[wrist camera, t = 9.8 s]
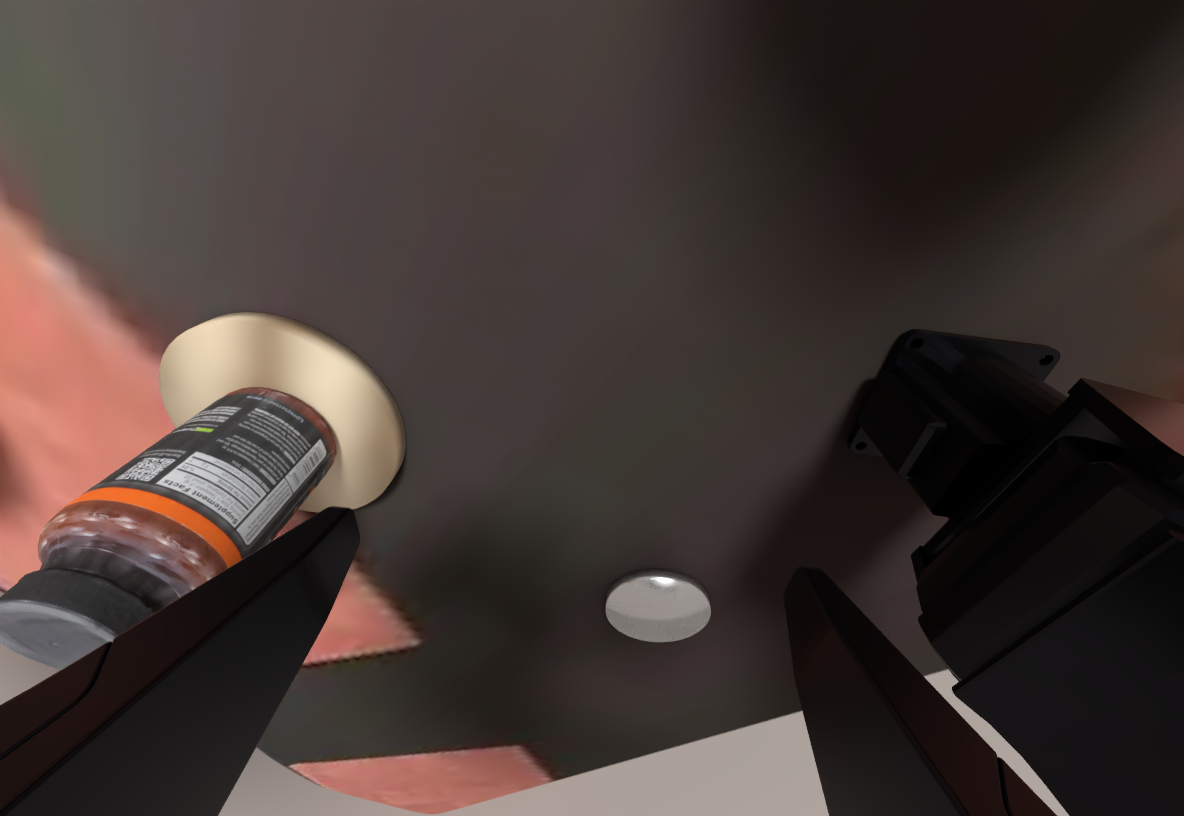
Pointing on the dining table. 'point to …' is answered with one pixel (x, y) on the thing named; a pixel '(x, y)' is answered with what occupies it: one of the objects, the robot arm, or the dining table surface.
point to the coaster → (293, 393)
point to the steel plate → (657, 605)
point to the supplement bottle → (167, 523)
